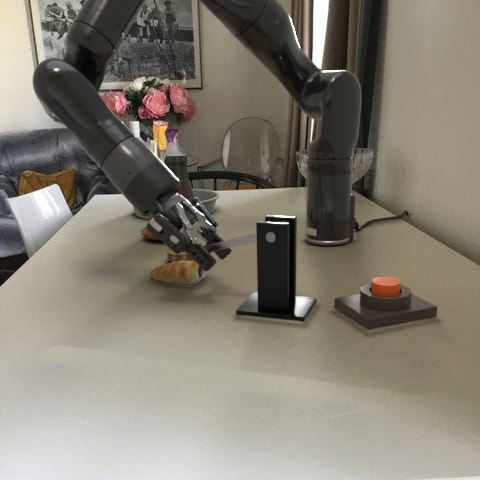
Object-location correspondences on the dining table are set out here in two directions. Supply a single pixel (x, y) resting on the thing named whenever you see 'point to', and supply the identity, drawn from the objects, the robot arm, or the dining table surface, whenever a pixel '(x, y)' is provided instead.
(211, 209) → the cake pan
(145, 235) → the cup and saucer
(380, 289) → the ignition button
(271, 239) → the stand
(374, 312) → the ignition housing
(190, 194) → the sauce bottle
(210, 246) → the lever
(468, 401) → the dining table surface
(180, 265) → the pastry
